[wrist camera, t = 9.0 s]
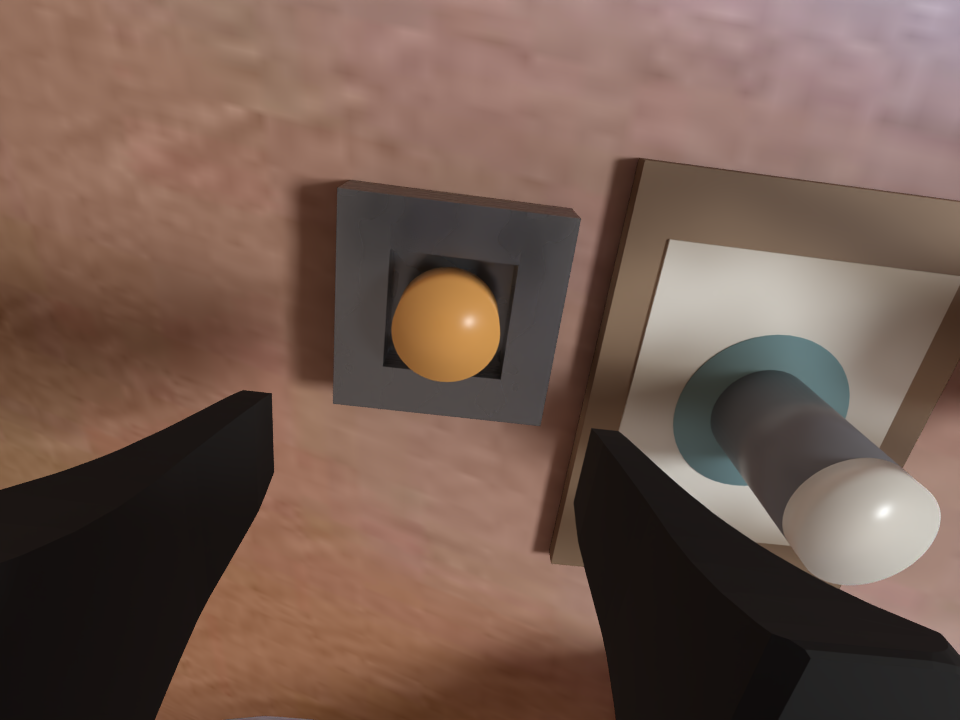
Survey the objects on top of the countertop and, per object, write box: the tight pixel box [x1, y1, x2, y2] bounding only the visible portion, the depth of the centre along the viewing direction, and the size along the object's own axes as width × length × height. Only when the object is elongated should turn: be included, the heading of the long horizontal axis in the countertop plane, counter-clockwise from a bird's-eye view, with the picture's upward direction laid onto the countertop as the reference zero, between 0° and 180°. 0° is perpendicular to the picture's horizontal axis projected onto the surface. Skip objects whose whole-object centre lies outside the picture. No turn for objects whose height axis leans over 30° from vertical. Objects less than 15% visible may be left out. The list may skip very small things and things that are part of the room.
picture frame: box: [549, 158, 960, 589], centre depth 23 cm, size 18×14×1 cm
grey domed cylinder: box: [711, 370, 941, 585], centre depth 20 cm, size 4×4×7 cm
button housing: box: [333, 180, 581, 426], centre depth 21 cm, size 8×8×2 cm
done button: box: [392, 267, 500, 382], centre depth 20 cm, size 4×4×2 cm
